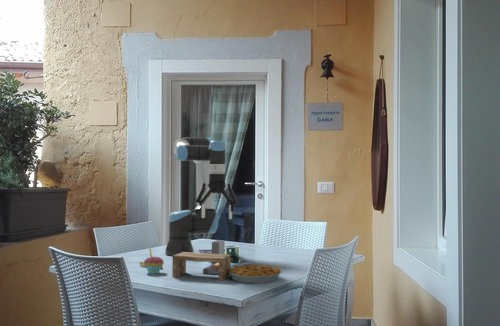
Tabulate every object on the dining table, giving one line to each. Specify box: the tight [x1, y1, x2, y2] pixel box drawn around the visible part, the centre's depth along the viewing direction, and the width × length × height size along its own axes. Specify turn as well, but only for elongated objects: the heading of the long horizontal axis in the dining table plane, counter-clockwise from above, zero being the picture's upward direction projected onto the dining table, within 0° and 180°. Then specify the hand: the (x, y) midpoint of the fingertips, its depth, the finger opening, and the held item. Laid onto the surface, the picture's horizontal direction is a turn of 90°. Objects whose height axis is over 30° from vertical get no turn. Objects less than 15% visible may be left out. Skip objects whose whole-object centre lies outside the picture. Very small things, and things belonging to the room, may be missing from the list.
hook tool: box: [202, 239, 225, 276], centre depth 243 cm, size 21×9×12 cm, turn 164°
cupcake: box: [143, 245, 164, 275], centre depth 235 cm, size 9×8×12 cm
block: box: [213, 263, 219, 269], centre depth 236 cm, size 6×6×4 cm
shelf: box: [171, 252, 232, 281], centre depth 228 cm, size 11×22×9 cm, turn 74°
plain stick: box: [139, 260, 164, 270], centre depth 248 cm, size 12×2×2 cm, turn 57°
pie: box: [229, 264, 282, 284], centre depth 224 cm, size 22×22×5 cm
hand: (216, 218), depth 251 cm, fingers open, 13 cm apart
